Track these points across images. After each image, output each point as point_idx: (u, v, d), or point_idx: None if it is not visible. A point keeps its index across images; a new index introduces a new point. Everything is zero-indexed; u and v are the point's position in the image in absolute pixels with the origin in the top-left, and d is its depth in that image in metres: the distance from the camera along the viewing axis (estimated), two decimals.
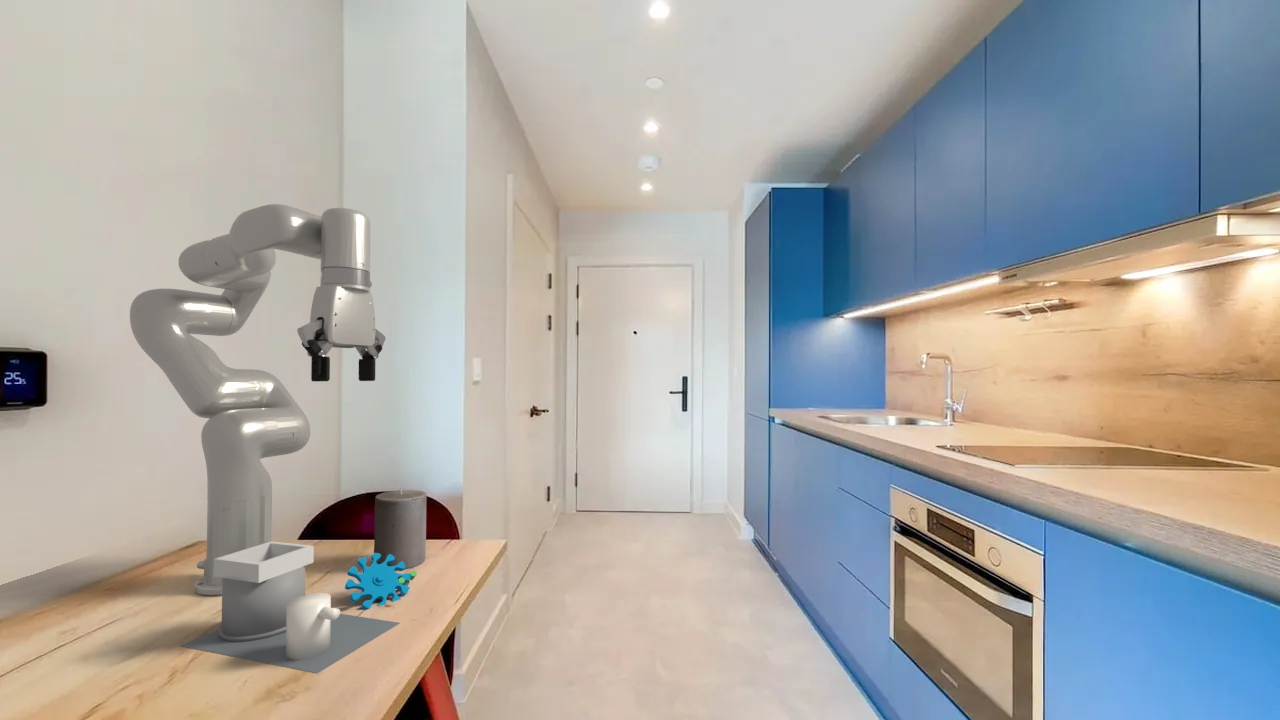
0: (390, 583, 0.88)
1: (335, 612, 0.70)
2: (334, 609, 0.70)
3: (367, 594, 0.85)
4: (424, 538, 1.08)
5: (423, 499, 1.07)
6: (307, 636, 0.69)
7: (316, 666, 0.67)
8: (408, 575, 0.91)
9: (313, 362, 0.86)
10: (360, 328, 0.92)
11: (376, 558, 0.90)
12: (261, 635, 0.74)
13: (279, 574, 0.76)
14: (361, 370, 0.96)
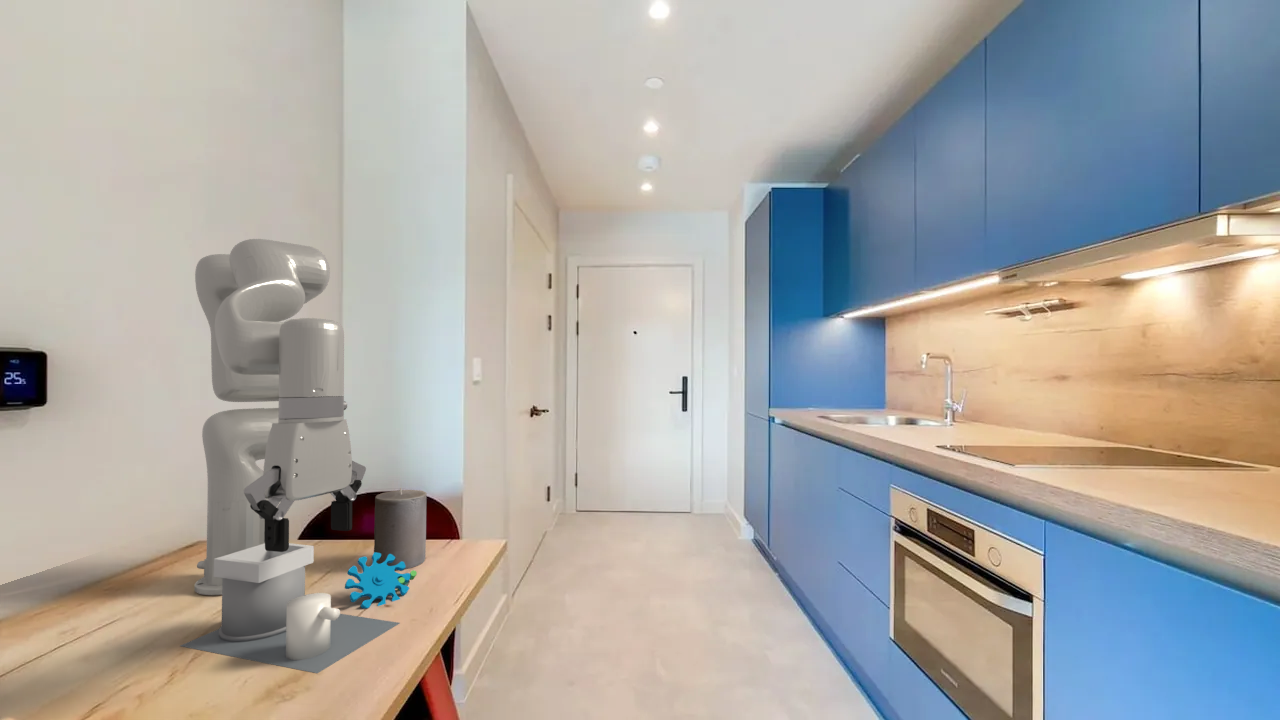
0: (390, 583, 0.88)
1: (335, 612, 0.70)
2: (334, 609, 0.70)
3: (367, 594, 0.85)
4: (424, 538, 1.08)
5: (423, 499, 1.07)
6: (307, 636, 0.69)
7: (316, 666, 0.67)
8: (408, 575, 0.91)
9: (267, 527, 0.66)
10: (331, 470, 0.72)
11: (376, 558, 0.90)
12: (261, 635, 0.74)
13: (279, 574, 0.76)
14: (334, 516, 0.76)
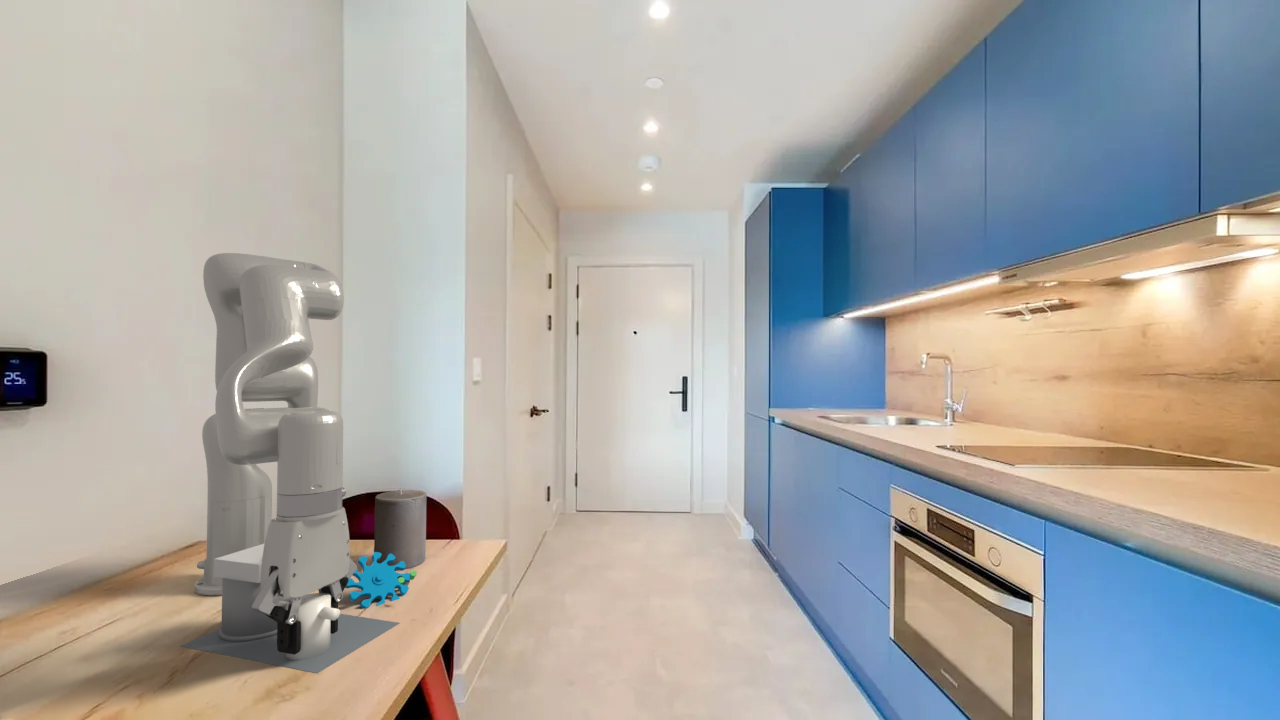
0: (389, 582, 0.89)
1: (335, 612, 0.70)
2: (334, 609, 0.70)
3: (366, 594, 0.86)
4: (424, 538, 1.08)
5: (423, 499, 1.07)
6: (307, 636, 0.69)
7: (316, 666, 0.67)
8: (408, 575, 0.91)
9: (280, 630, 0.67)
10: (329, 563, 0.71)
11: (376, 557, 0.91)
12: (261, 635, 0.74)
13: None
14: None
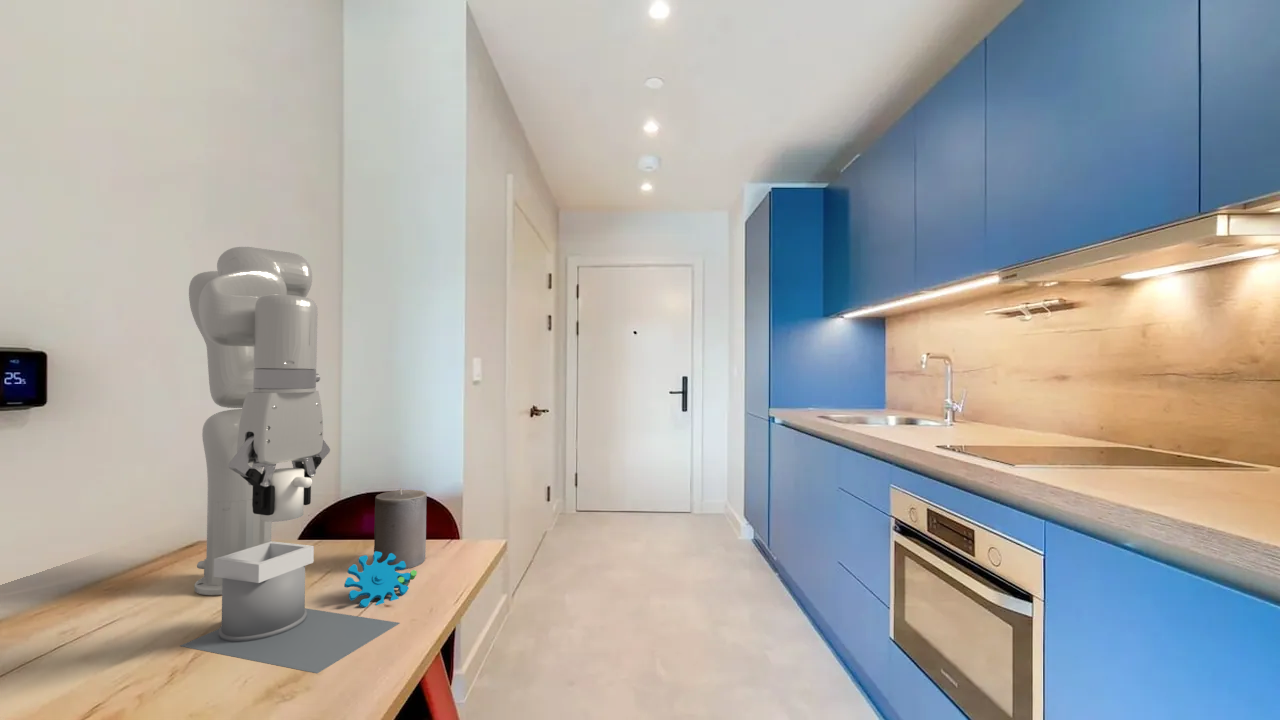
0: (389, 582, 0.89)
1: (308, 480, 0.75)
2: (307, 478, 0.75)
3: (365, 593, 0.86)
4: (424, 538, 1.08)
5: (423, 499, 1.07)
6: (281, 501, 0.74)
7: (316, 666, 0.67)
8: (408, 574, 0.91)
9: (255, 492, 0.73)
10: (302, 437, 0.77)
11: (377, 557, 0.91)
12: (261, 635, 0.74)
13: (279, 574, 0.76)
14: None
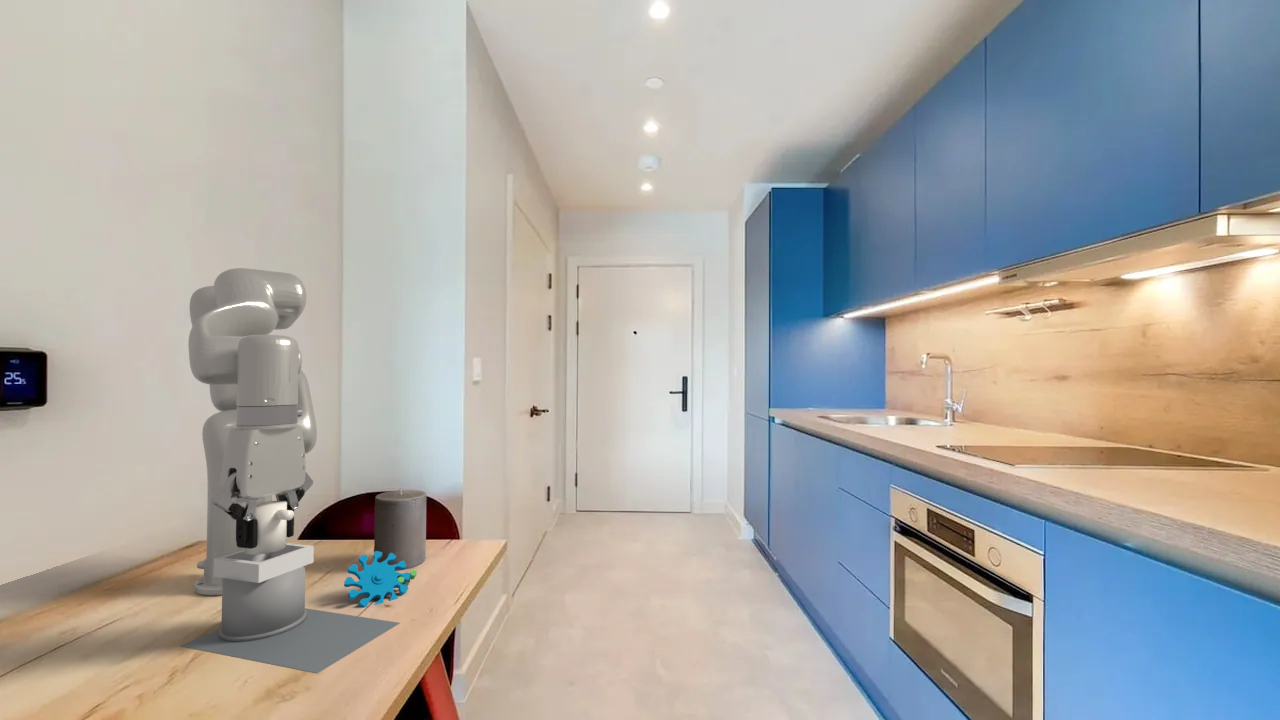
0: (389, 582, 0.89)
1: (289, 513, 0.78)
2: (288, 510, 0.78)
3: (365, 593, 0.86)
4: (424, 538, 1.08)
5: (423, 499, 1.07)
6: (264, 533, 0.77)
7: (316, 666, 0.67)
8: (408, 574, 0.91)
9: (238, 526, 0.75)
10: (284, 471, 0.79)
11: (377, 556, 0.91)
12: (261, 635, 0.74)
13: (279, 574, 0.76)
14: None
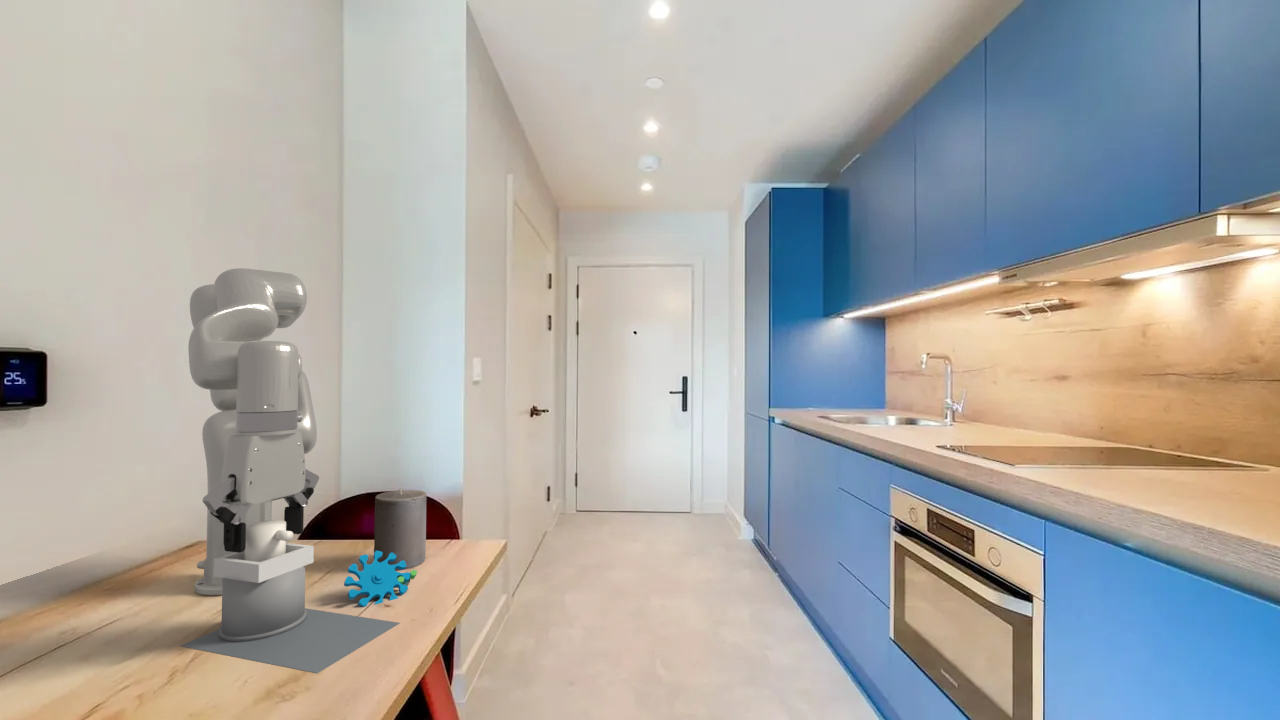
0: (389, 582, 0.89)
1: (289, 534, 0.78)
2: (288, 531, 0.78)
3: (365, 592, 0.86)
4: (424, 538, 1.08)
5: (423, 499, 1.07)
6: (263, 554, 0.77)
7: (316, 666, 0.67)
8: (408, 574, 0.91)
9: (226, 530, 0.74)
10: (284, 477, 0.79)
11: (377, 556, 0.91)
12: (261, 635, 0.74)
13: (279, 574, 0.76)
14: (287, 521, 0.83)
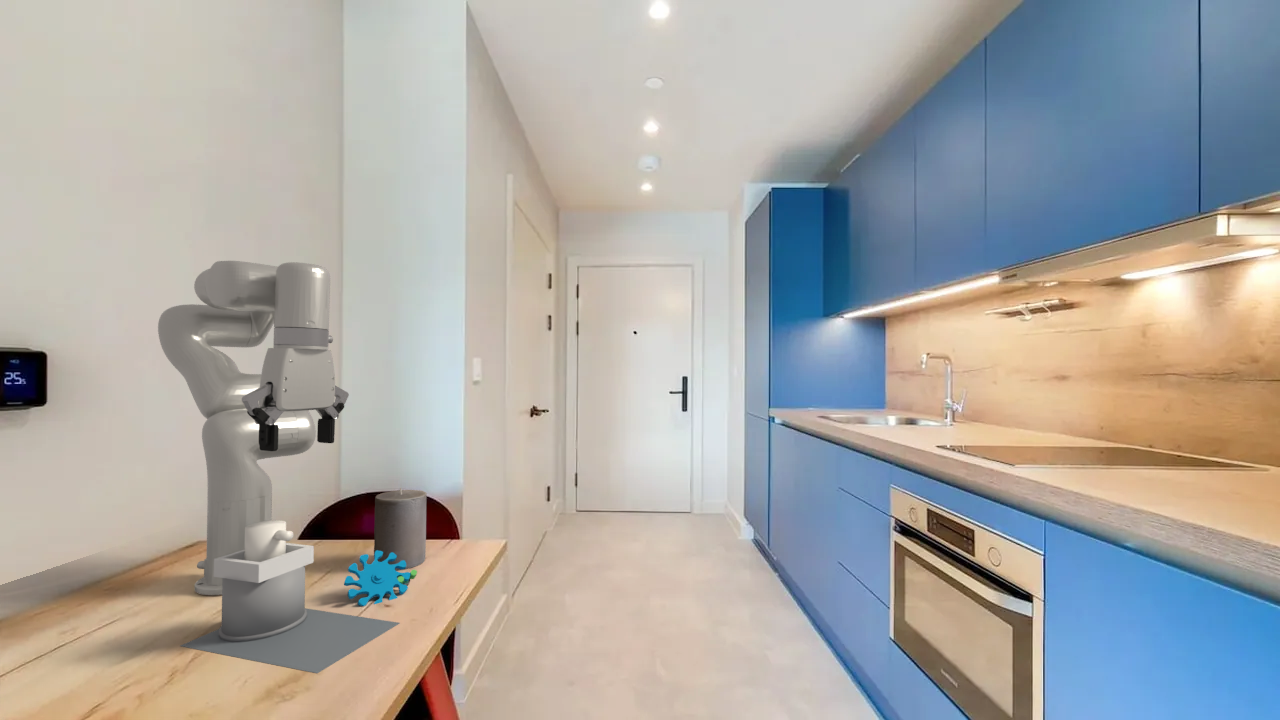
0: (389, 581, 0.89)
1: (289, 534, 0.78)
2: (288, 531, 0.78)
3: (364, 592, 0.86)
4: (424, 538, 1.08)
5: (423, 499, 1.07)
6: (263, 554, 0.77)
7: (316, 666, 0.67)
8: (408, 574, 0.91)
9: (261, 430, 0.81)
10: (316, 390, 0.86)
11: (378, 556, 0.91)
12: (261, 635, 0.74)
13: (279, 574, 0.76)
14: (320, 431, 0.91)
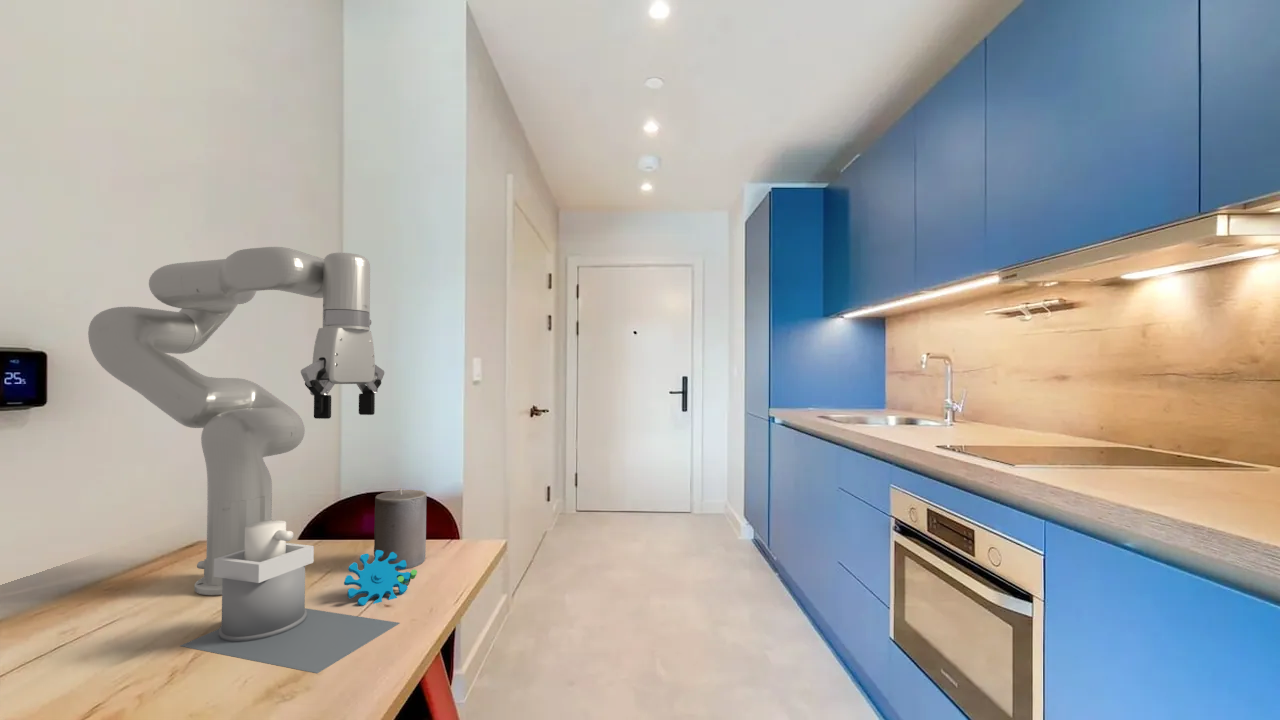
0: (388, 581, 0.89)
1: (289, 534, 0.78)
2: (288, 531, 0.78)
3: (364, 591, 0.87)
4: (424, 538, 1.08)
5: (423, 499, 1.07)
6: (263, 554, 0.77)
7: (316, 666, 0.67)
8: (408, 574, 0.91)
9: (316, 400, 0.91)
10: (360, 366, 0.97)
11: (378, 555, 0.92)
12: (261, 635, 0.74)
13: (279, 574, 0.76)
14: (361, 404, 1.01)
